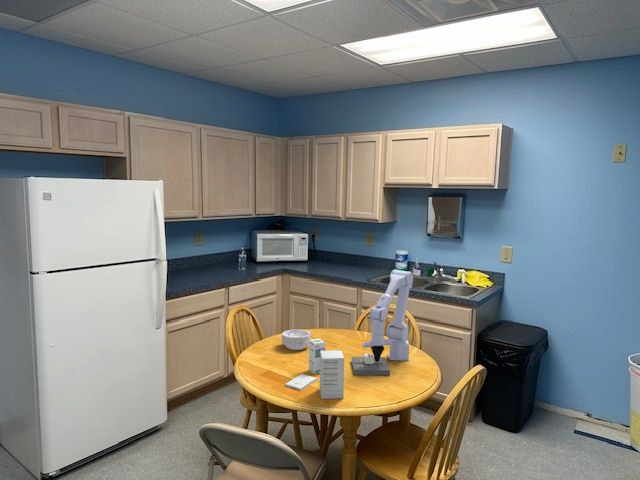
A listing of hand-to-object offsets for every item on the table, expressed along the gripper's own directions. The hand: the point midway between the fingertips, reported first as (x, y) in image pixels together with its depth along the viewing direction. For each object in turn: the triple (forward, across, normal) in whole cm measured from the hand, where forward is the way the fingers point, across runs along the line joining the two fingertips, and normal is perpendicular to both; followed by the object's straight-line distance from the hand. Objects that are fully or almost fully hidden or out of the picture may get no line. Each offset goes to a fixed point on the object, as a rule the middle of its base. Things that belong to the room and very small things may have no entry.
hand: (376, 361), depth 208 cm
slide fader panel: (+4, +3, -1) cm, 5 cm away
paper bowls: (+4, +28, -39) cm, 48 cm away
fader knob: (+1, +4, -1) cm, 4 cm away
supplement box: (+4, +30, +18) cm, 35 cm away
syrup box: (+4, +28, -6) cm, 29 cm away
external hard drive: (+4, +39, +4) cm, 39 cm away
